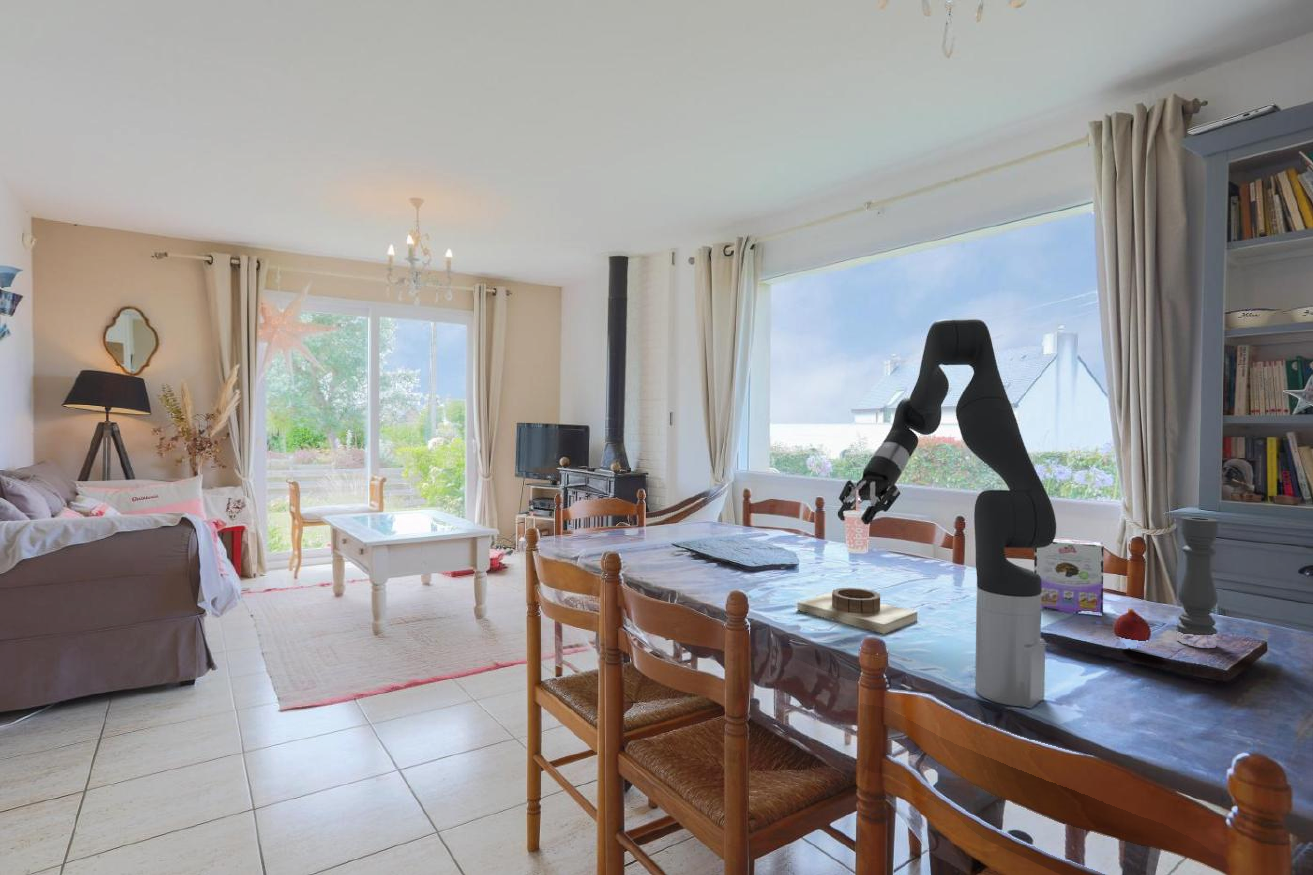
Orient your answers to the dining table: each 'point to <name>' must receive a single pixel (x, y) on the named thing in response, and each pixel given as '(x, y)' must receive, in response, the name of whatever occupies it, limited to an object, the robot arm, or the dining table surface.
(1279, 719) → the dining table surface
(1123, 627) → the onion
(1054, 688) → the dining table surface
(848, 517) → the beverage cup
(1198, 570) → the candle holder
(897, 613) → the cup stand
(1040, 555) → the candy box
